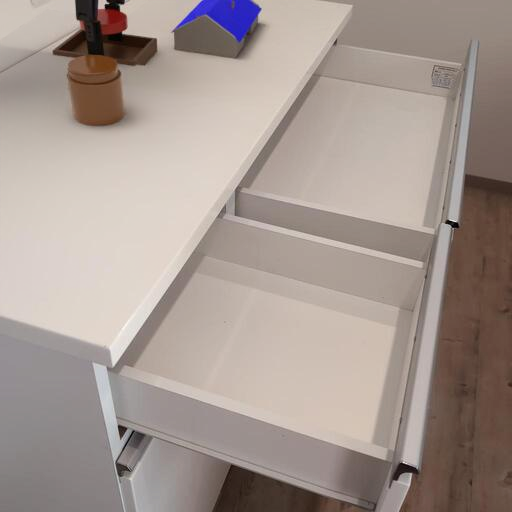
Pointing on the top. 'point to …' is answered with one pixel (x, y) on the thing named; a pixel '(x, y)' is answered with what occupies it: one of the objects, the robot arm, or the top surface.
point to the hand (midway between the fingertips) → (106, 48)
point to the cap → (110, 21)
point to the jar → (95, 90)
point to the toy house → (217, 27)
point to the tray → (112, 48)
